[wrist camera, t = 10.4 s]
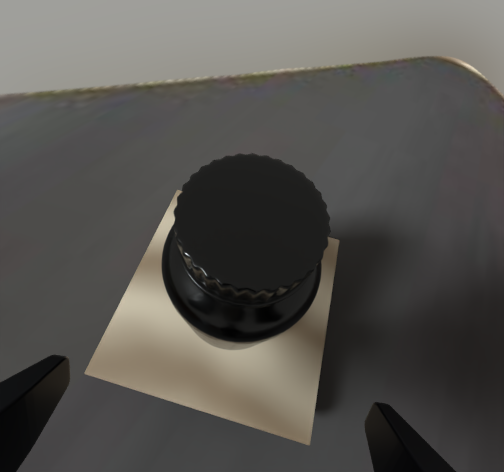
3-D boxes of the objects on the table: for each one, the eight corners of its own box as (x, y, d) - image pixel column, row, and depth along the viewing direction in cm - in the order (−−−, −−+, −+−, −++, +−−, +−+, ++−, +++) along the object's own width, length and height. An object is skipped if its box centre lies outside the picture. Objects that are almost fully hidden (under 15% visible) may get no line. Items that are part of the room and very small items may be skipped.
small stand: (293, 431, 19) (309, 445, 16) (106, 371, 19) (84, 373, 16) (323, 255, 25) (339, 240, 22) (182, 211, 25) (177, 189, 22)
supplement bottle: (260, 242, 21) (310, 115, 10) (295, 329, 18) (413, 284, 7) (172, 268, 19) (117, 148, 8) (198, 368, 16) (169, 384, 6)
